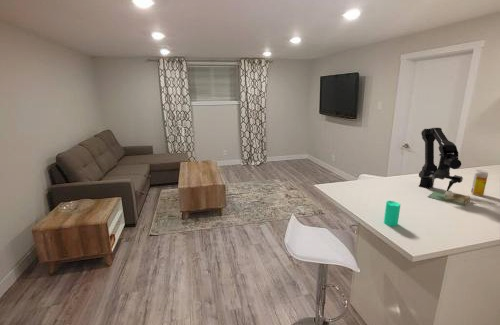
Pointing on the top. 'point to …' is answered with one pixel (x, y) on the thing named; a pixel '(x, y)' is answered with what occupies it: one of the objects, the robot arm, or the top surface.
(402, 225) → the top surface
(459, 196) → the u-shaped wooden rail
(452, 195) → the golf ball
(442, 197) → the putting mat
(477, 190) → the orange cylindrical container
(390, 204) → the candle
